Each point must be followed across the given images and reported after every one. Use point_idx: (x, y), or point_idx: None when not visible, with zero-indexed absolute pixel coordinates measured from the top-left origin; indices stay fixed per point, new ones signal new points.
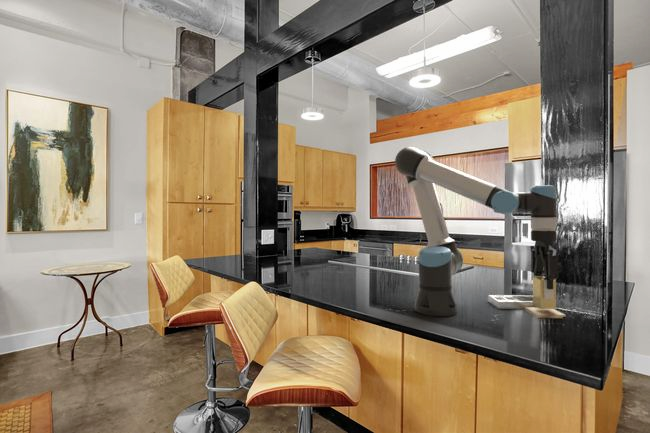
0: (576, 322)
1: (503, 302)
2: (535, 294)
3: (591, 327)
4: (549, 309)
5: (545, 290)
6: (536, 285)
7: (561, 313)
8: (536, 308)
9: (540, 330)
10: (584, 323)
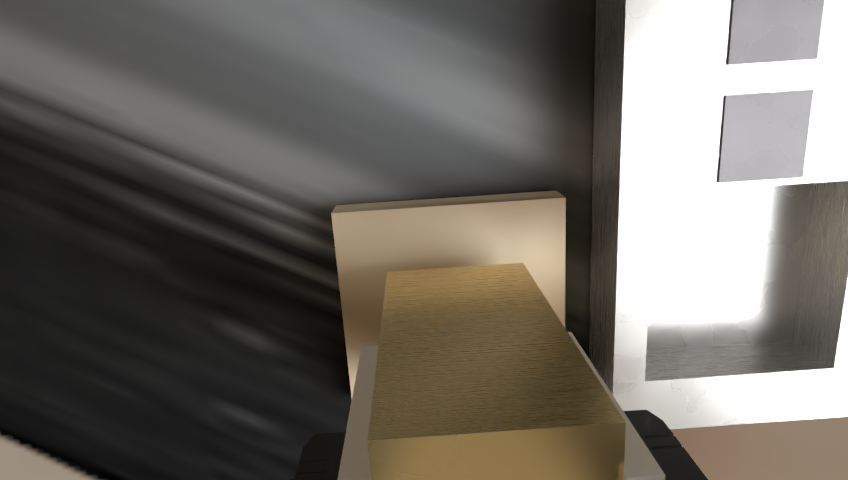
0: None
1: (621, 2)
2: (490, 309)
3: (218, 474)
4: None
5: (353, 401)
6: (483, 367)
7: None
8: None
9: (59, 113)
10: None
